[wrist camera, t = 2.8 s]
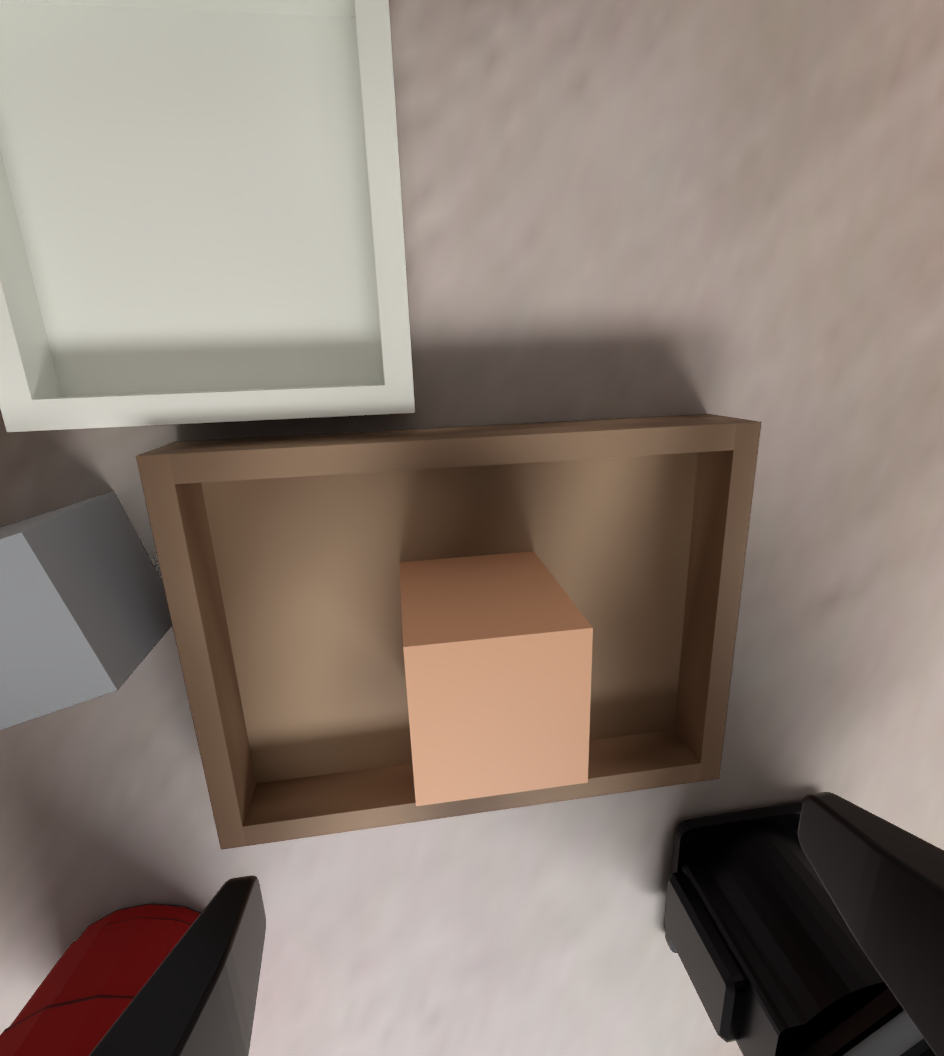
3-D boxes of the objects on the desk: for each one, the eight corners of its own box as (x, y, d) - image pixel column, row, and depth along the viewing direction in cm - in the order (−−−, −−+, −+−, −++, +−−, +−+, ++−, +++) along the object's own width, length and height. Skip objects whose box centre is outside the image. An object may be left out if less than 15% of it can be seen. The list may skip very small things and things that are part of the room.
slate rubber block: (115, 490, 15) (21, 532, 11) (181, 614, 16) (116, 690, 12) (-29, 536, 15) (-174, 595, 11) (49, 658, 16) (-57, 749, 12)
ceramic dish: (385, -6, 13) (384, -61, 11) (412, 407, 15) (415, 412, 14) (-66, -29, 11) (-141, -93, 10) (50, 424, 14) (7, 432, 13)
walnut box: (708, 413, 17) (761, 422, 14) (679, 729, 20) (718, 778, 18) (176, 441, 15) (136, 455, 12) (243, 785, 18) (221, 849, 16)
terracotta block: (533, 551, 16) (592, 627, 12) (534, 669, 17) (587, 783, 13) (399, 562, 16) (403, 647, 11) (408, 682, 17) (415, 806, 12)
